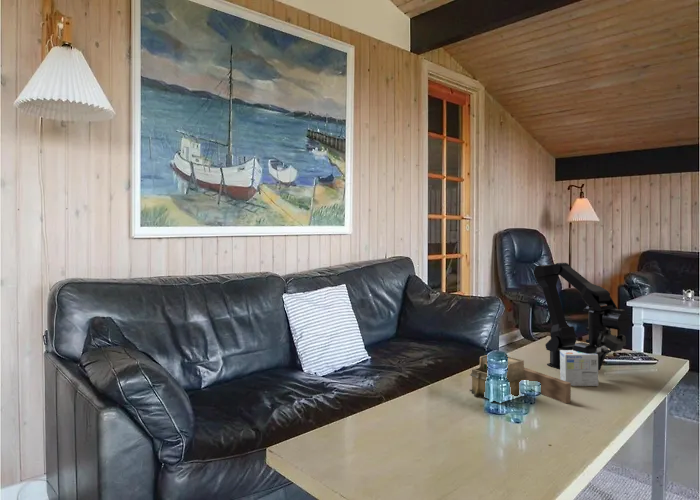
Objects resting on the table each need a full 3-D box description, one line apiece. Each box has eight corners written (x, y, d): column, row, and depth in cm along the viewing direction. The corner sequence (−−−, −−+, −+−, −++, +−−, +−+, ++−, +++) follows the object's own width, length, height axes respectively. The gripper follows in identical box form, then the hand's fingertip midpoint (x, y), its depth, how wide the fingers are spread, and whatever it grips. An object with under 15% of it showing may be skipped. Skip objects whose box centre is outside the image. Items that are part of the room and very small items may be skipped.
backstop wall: (512, 383, 166) (511, 365, 165) (516, 382, 167) (516, 364, 166) (566, 403, 146) (566, 383, 146) (570, 402, 147) (570, 382, 147)
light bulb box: (591, 380, 167) (591, 349, 167) (599, 386, 160) (599, 354, 160) (559, 379, 168) (559, 349, 168) (565, 386, 162) (565, 354, 161)
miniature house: (493, 384, 166) (493, 350, 165) (528, 395, 154) (528, 359, 154) (462, 392, 158) (462, 358, 157) (497, 405, 146) (497, 368, 145)
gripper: (601, 333, 156) (601, 380, 157) (637, 326, 165) (637, 371, 165) (571, 327, 166) (571, 372, 167) (607, 321, 175) (607, 364, 175)
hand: (598, 370), depth 168 cm, fingers closed
